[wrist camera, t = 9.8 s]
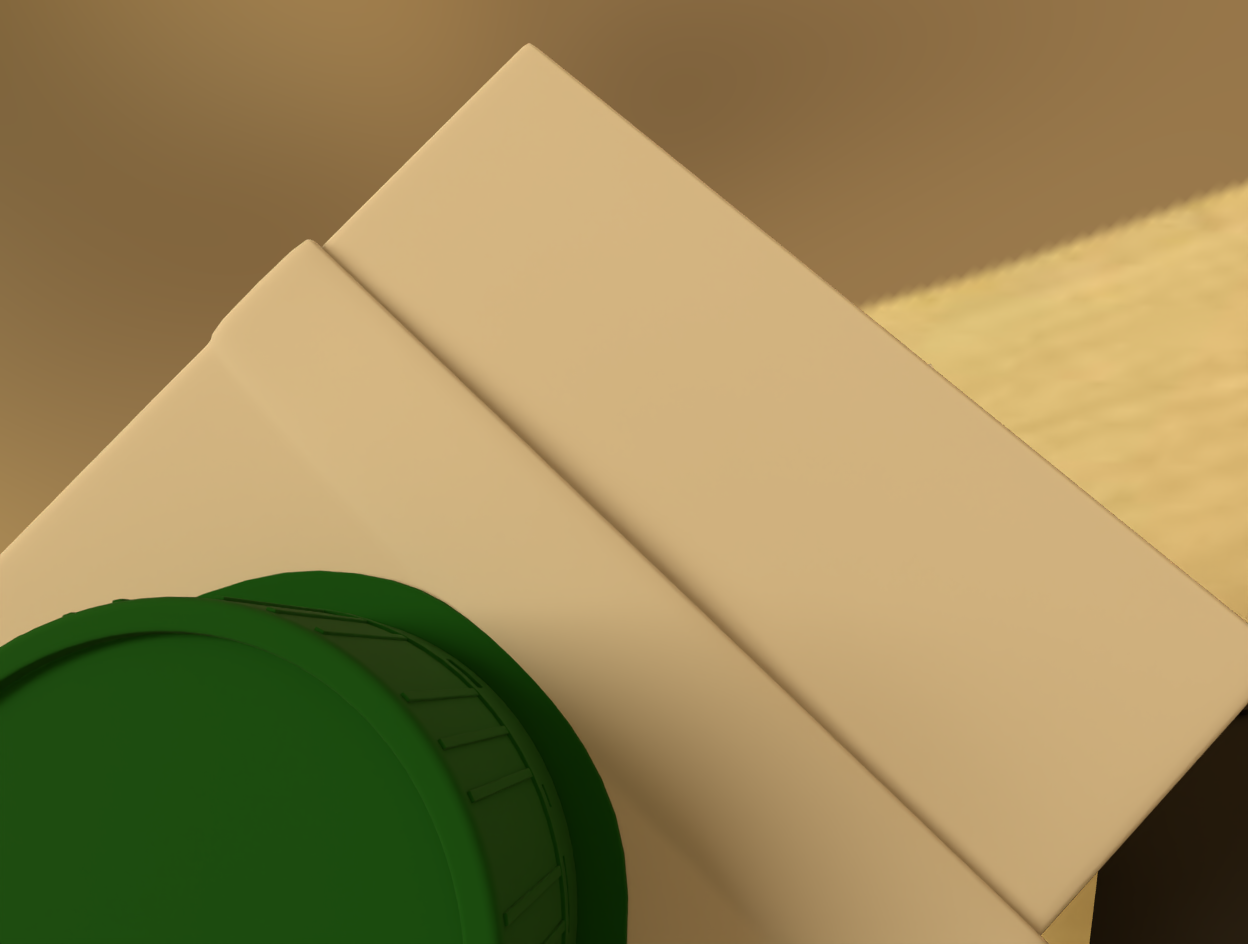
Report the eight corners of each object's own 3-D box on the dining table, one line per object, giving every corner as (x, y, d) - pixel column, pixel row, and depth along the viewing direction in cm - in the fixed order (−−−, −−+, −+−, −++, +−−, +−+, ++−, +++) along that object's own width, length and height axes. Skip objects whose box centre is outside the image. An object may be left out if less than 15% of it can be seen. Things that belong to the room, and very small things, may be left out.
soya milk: (446, 685, 25) (-585, 705, 6) (685, 436, 26) (466, -303, 6) (690, 947, 23) (342, 2334, 4) (944, 670, 24) (1794, 630, 4)
